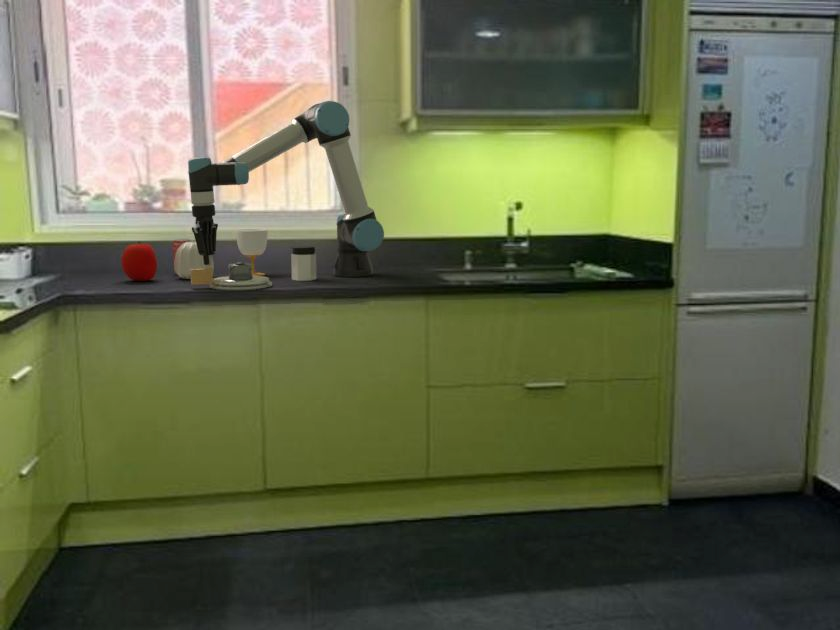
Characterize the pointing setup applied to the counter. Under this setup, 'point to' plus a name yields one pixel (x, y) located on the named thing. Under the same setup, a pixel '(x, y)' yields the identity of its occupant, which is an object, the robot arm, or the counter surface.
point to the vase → (188, 259)
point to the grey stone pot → (240, 271)
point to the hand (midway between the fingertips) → (209, 273)
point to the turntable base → (240, 287)
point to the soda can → (177, 244)
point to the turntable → (222, 279)
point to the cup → (252, 244)
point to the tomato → (139, 262)
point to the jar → (303, 263)
